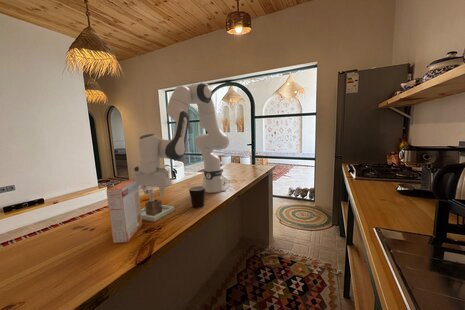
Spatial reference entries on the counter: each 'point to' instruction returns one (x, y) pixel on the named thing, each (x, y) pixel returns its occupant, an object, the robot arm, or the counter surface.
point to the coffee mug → (197, 196)
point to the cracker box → (124, 210)
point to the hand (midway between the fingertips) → (153, 194)
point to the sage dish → (165, 211)
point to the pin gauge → (151, 196)
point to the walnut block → (153, 207)
